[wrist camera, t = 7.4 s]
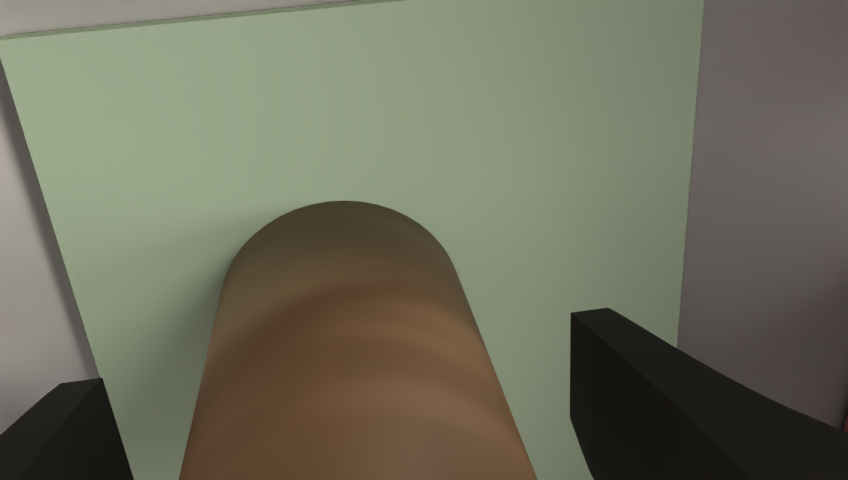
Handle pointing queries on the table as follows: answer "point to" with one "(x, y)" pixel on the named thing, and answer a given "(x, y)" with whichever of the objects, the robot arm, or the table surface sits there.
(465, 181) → the green mat
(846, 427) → the canister
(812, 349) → the table surface
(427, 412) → the walnut cylinder
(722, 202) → the table surface
